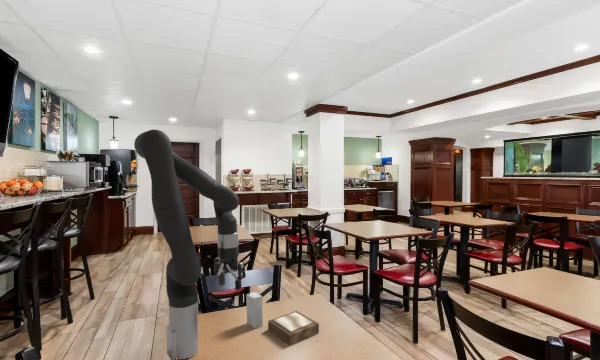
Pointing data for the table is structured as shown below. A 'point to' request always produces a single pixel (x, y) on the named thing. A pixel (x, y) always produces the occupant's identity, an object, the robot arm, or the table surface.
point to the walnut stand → (293, 327)
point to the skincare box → (254, 310)
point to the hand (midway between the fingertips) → (230, 287)
